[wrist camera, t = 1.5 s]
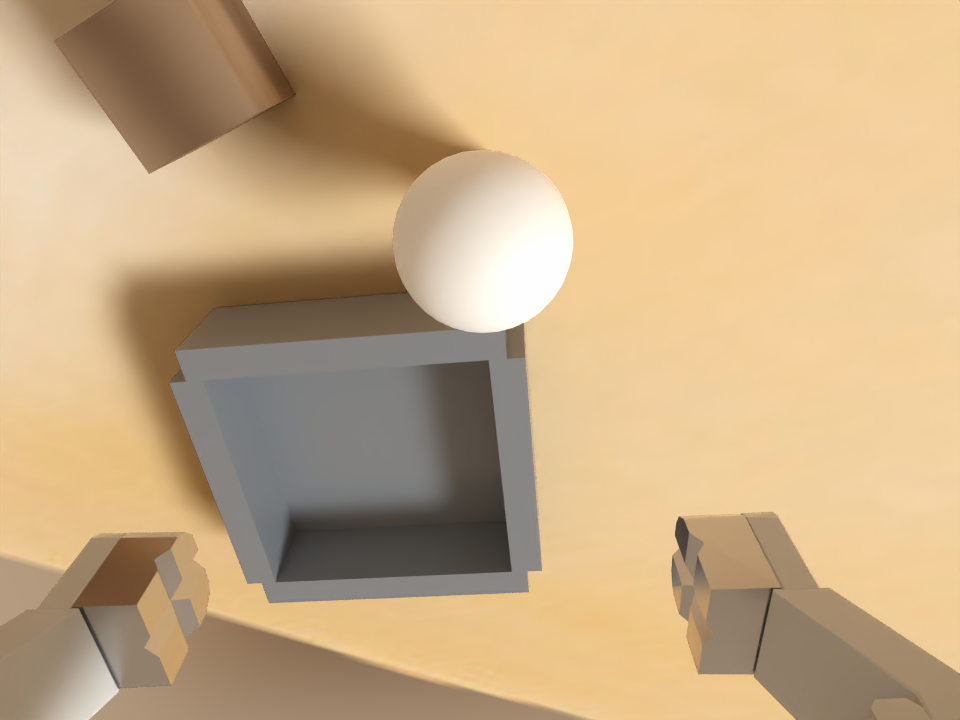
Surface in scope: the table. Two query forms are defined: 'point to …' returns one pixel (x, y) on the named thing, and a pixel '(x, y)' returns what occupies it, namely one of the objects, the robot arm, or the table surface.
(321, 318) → the gray square tray
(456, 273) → the lightbulb
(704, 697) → the table surface
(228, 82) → the walnut block
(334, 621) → the table surface
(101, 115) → the table surface
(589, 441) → the table surface
